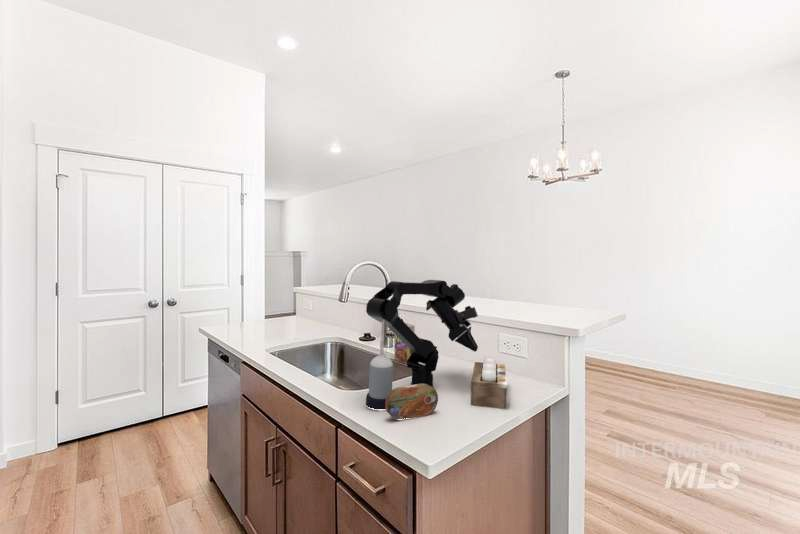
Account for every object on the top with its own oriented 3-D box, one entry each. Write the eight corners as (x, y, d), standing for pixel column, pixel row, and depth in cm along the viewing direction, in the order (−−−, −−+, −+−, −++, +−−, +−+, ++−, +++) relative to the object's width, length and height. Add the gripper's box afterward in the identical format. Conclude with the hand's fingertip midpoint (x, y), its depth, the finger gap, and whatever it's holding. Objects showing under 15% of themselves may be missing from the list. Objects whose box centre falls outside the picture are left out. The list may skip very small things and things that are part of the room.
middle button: (482, 380, 117) (482, 365, 117) (483, 375, 121) (483, 362, 121) (495, 381, 116) (496, 366, 116) (495, 377, 120) (496, 363, 120)
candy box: (393, 359, 156) (393, 322, 155) (401, 357, 159) (402, 321, 158) (406, 364, 149) (406, 326, 148) (414, 362, 151) (415, 325, 151)
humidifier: (378, 396, 115) (382, 316, 114) (399, 405, 110) (403, 320, 108) (359, 404, 109) (363, 319, 107) (380, 414, 104) (384, 325, 102)
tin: (388, 423, 98) (388, 391, 98) (383, 418, 101) (383, 387, 101) (438, 413, 104) (438, 383, 104) (433, 409, 107) (433, 380, 107)
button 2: (483, 373, 123) (483, 359, 123) (483, 369, 127) (483, 356, 127) (495, 374, 122) (496, 360, 122) (495, 370, 126) (496, 357, 126)
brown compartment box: (470, 405, 110) (471, 380, 110) (474, 382, 129) (475, 361, 129) (506, 408, 108) (506, 384, 107) (504, 384, 127) (505, 363, 127)
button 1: (481, 387, 111) (481, 372, 110) (482, 382, 114) (482, 368, 114) (495, 388, 110) (495, 373, 109) (495, 384, 113) (496, 369, 113)
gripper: (462, 298, 118) (495, 338, 115) (466, 297, 136) (495, 331, 133) (435, 321, 120) (467, 360, 117) (443, 316, 138) (471, 350, 135)
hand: (476, 349), depth 126 cm, fingers open, 5 cm apart
